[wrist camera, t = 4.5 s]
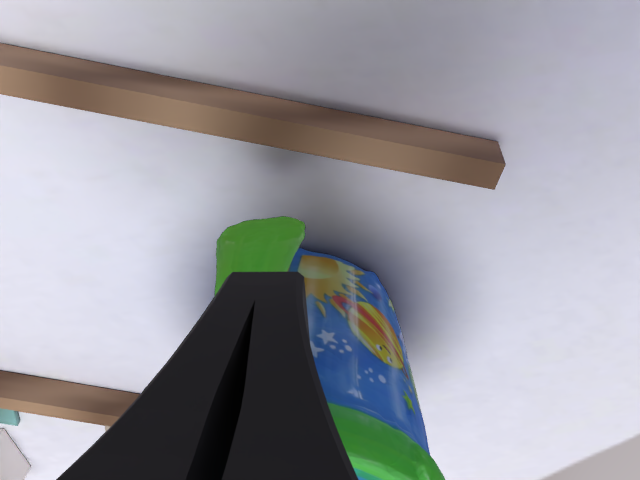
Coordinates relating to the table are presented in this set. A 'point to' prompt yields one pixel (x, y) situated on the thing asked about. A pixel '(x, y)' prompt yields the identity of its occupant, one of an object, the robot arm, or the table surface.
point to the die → (11, 459)
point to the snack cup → (345, 347)
